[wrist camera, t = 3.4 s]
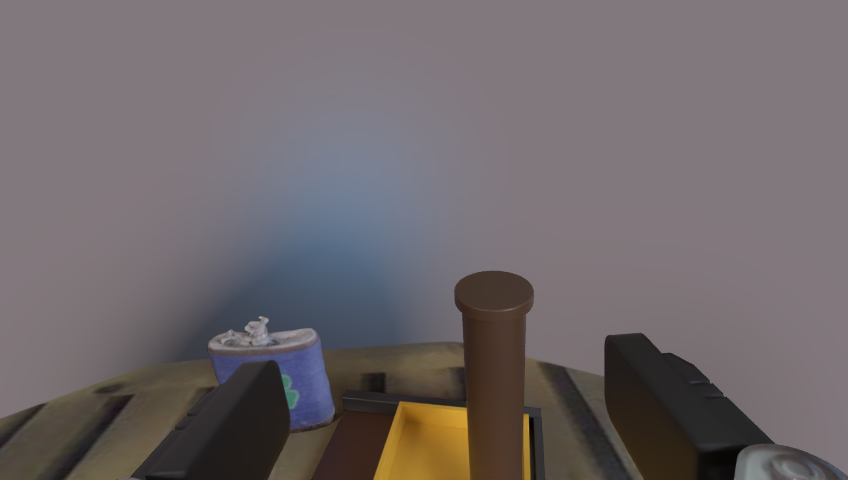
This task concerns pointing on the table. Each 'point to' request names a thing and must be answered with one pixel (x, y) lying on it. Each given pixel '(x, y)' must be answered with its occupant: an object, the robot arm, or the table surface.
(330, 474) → the track
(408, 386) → the table surface
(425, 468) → the tray
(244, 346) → the flask
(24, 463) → the table surface
